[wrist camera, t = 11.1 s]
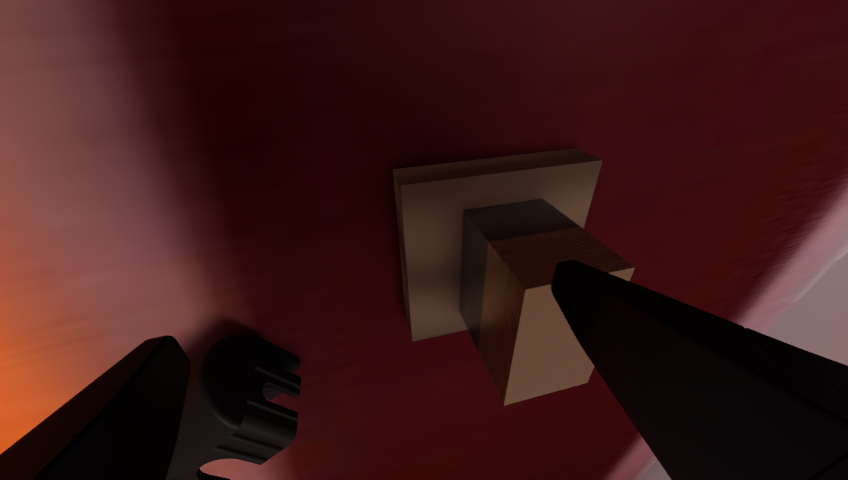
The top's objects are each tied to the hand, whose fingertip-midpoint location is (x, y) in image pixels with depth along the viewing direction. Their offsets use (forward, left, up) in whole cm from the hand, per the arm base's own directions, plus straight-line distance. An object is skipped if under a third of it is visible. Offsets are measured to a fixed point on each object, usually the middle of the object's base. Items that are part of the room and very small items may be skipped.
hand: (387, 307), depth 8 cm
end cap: (+15, -12, -12) cm, 23 cm away
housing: (+7, +8, -10) cm, 14 cm away
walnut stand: (+7, +8, -12) cm, 16 cm away
